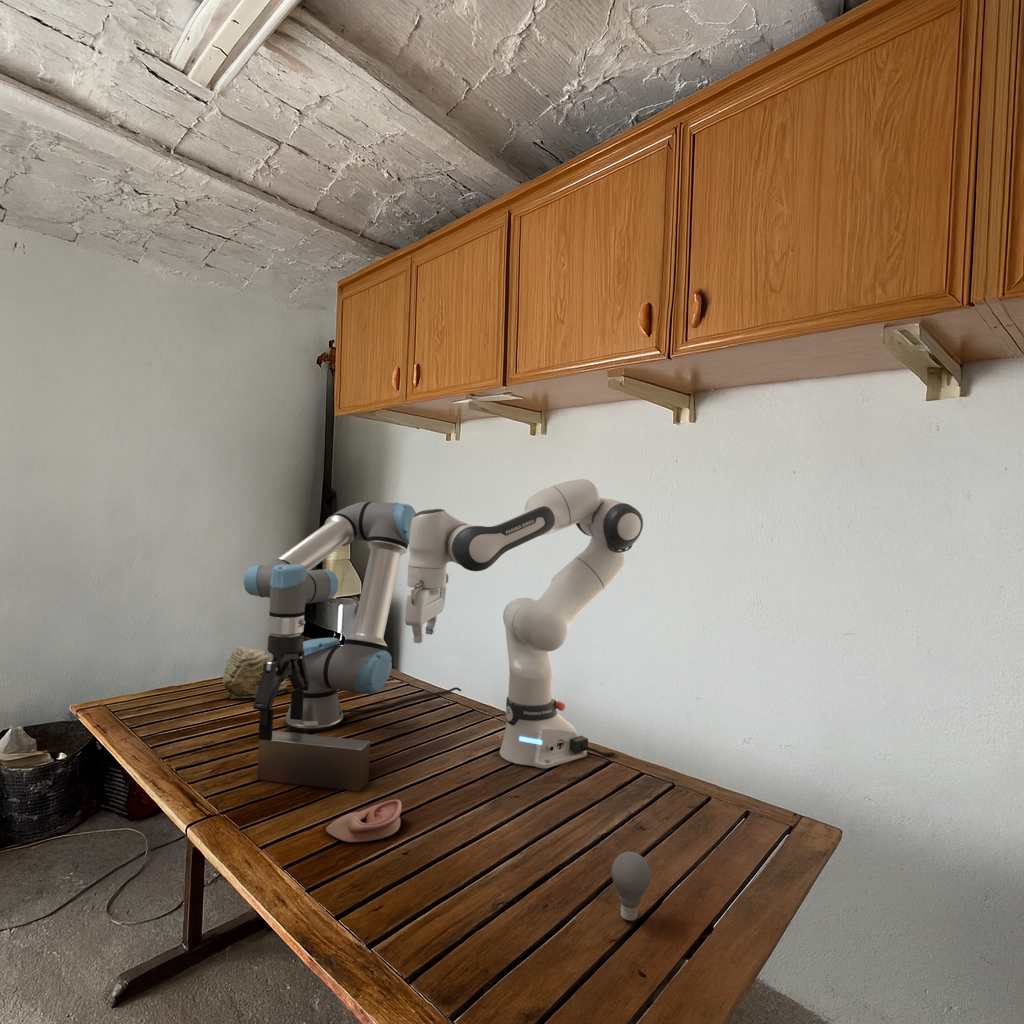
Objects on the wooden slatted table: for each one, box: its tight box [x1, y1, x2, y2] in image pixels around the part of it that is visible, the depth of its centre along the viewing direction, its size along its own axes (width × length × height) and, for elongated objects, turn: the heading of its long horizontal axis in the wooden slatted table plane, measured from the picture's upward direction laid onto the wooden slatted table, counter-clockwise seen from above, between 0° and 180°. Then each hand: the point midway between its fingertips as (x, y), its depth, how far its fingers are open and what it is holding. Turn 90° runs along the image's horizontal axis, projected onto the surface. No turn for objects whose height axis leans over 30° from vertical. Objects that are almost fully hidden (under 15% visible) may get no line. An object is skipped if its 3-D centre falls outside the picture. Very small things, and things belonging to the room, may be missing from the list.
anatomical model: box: [325, 799, 403, 843], centre depth 122 cm, size 13×4×12 cm
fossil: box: [222, 646, 288, 699], centre depth 198 cm, size 9×18×15 cm, turn 132°
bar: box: [257, 730, 371, 793], centre depth 141 cm, size 24×5×9 cm, turn 81°
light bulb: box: [611, 851, 652, 921], centre depth 99 cm, size 6×6×10 cm
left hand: (281, 728), depth 142 cm, fingers open, 13 cm apart
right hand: (424, 638), depth 147 cm, fingers open, 8 cm apart
